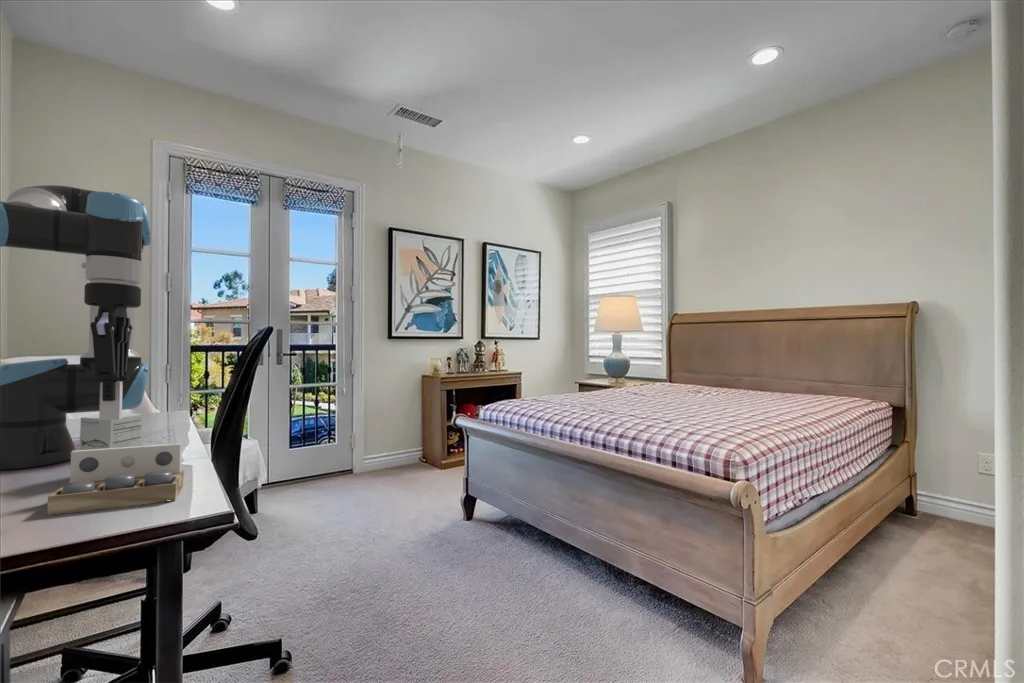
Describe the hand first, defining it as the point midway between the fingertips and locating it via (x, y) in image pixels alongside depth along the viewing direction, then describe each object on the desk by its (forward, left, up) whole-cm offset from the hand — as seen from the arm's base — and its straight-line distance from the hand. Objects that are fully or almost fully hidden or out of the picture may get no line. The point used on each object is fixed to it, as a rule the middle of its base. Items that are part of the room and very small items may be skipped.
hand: (110, 419), depth 81 cm
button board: (-2, +1, -15) cm, 15 cm away
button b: (0, +1, -13) cm, 13 cm away
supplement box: (-21, -5, -15) cm, 27 cm away
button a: (0, -4, -13) cm, 13 cm away
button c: (0, +7, -12) cm, 14 cm away
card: (-6, +1, -12) cm, 13 cm away
